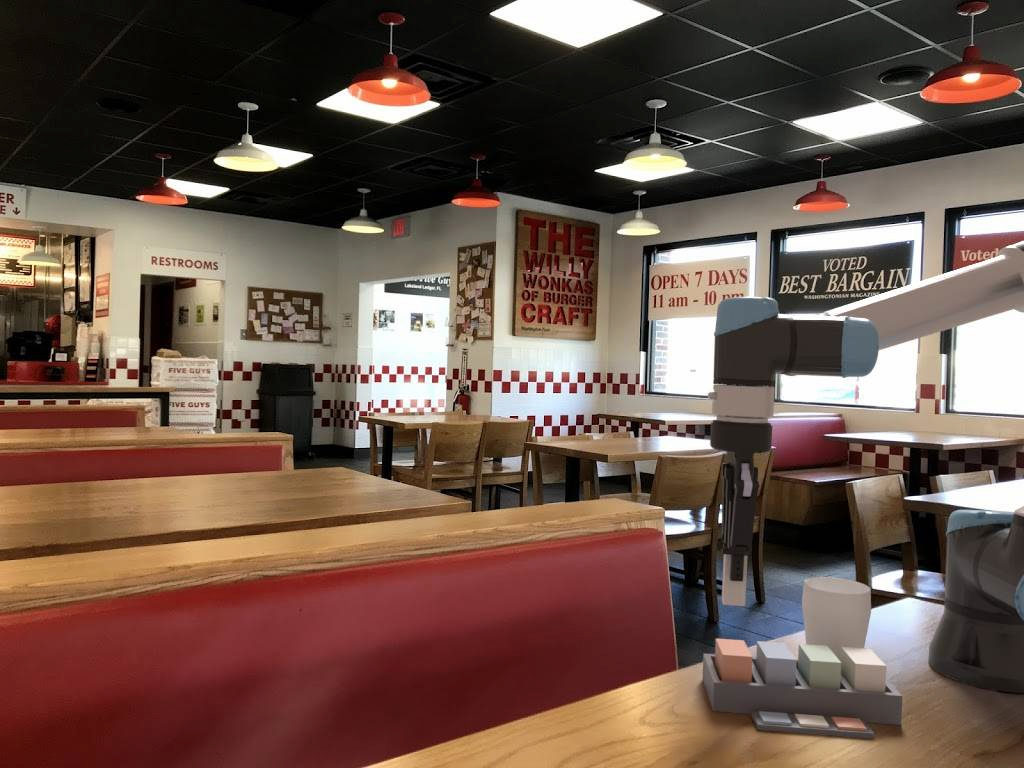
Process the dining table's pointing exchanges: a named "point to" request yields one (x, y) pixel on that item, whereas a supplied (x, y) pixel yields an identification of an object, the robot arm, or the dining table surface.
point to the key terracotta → (733, 660)
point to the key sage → (819, 666)
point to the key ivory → (863, 669)
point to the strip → (812, 724)
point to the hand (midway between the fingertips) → (733, 603)
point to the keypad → (800, 697)
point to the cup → (836, 613)
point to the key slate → (776, 663)
